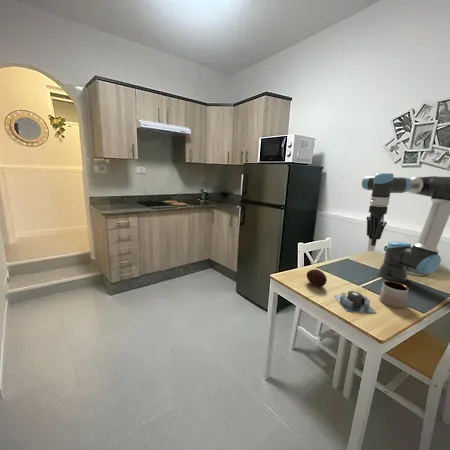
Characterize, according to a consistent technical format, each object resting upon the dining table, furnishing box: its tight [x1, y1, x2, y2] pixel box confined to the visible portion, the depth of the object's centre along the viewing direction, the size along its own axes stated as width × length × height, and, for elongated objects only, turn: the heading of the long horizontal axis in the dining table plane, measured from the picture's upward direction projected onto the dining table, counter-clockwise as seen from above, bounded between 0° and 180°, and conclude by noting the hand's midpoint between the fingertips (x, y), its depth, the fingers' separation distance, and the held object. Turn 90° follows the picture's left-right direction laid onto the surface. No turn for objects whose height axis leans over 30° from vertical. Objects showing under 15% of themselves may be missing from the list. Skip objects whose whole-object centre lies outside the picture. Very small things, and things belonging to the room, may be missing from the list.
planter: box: [379, 280, 410, 309], centre depth 120 cm, size 11×11×10 cm
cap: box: [346, 290, 364, 307], centre depth 117 cm, size 6×6×5 cm
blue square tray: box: [333, 292, 377, 314], centre depth 117 cm, size 14×14×3 cm
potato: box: [306, 268, 328, 288], centre depth 134 cm, size 9×12×9 cm
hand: (370, 250), depth 122 cm, fingers closed
